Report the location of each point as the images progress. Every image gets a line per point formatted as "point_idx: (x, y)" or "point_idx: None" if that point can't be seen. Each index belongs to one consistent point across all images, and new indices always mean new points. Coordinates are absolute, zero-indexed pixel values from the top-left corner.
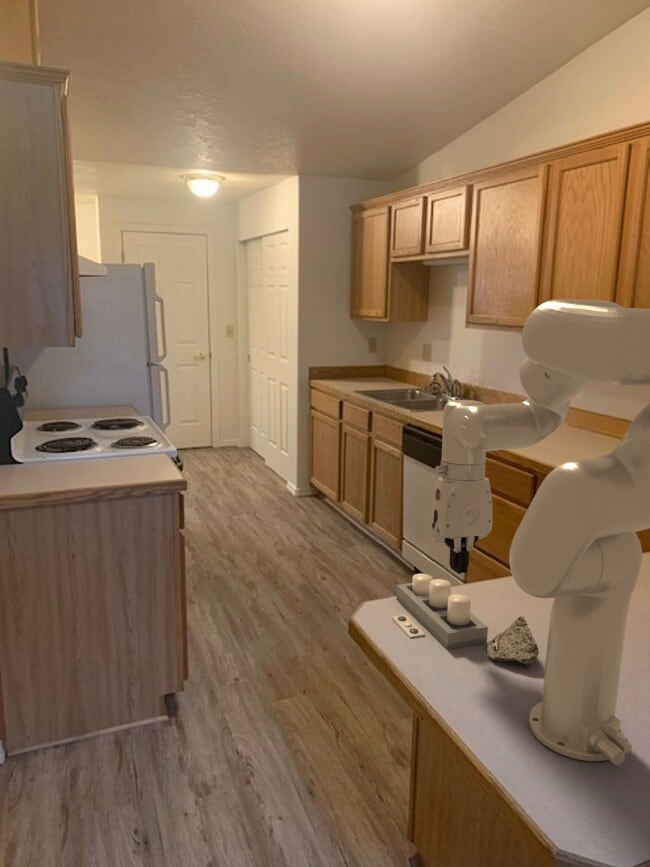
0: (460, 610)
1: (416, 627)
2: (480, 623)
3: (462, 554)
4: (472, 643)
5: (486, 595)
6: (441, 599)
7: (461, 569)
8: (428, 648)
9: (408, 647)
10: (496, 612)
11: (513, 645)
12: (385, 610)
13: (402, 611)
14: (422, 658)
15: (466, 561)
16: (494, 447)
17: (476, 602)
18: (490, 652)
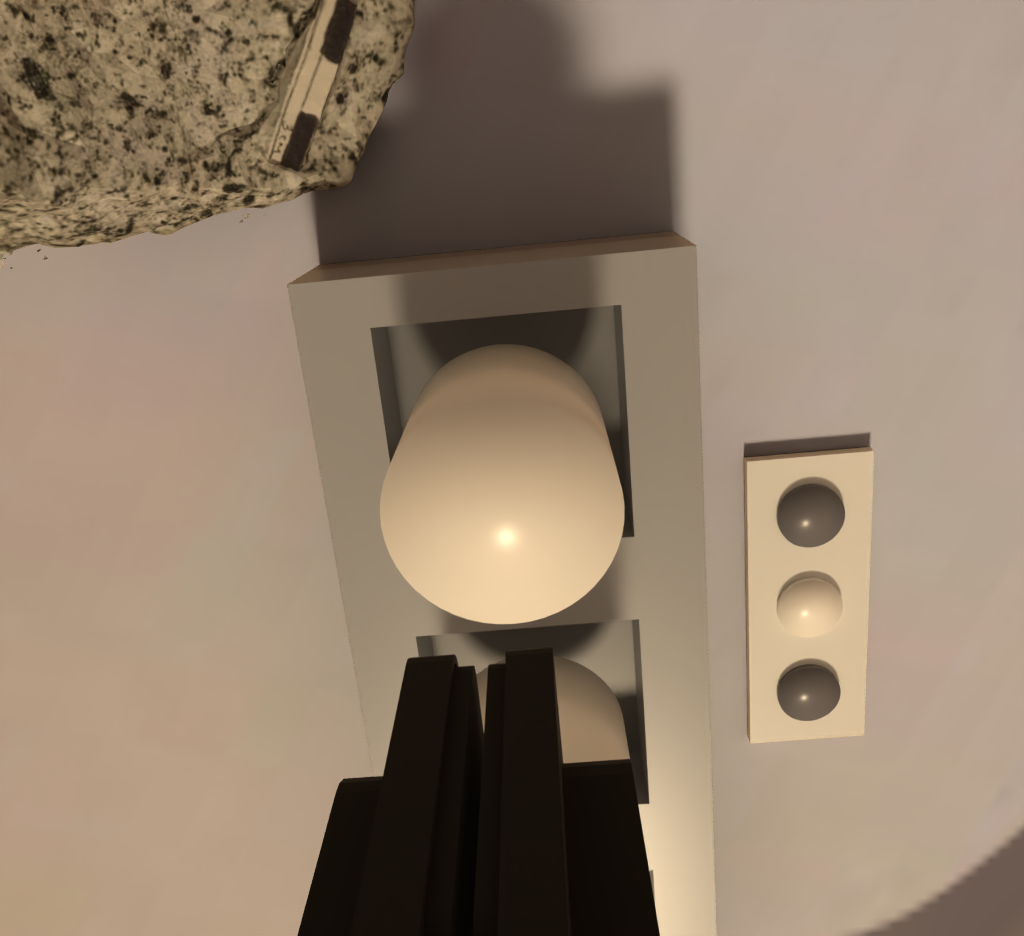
0: (541, 383)
1: (761, 564)
2: (327, 360)
3: (509, 902)
4: (447, 255)
5: (48, 887)
6: (562, 699)
7: (520, 681)
8: (807, 277)
9: (948, 322)
10: (65, 665)
11: None
12: (846, 828)
13: (737, 796)
14: (928, 142)
15: (411, 781)
16: None
17: (158, 815)
18: (386, 27)
